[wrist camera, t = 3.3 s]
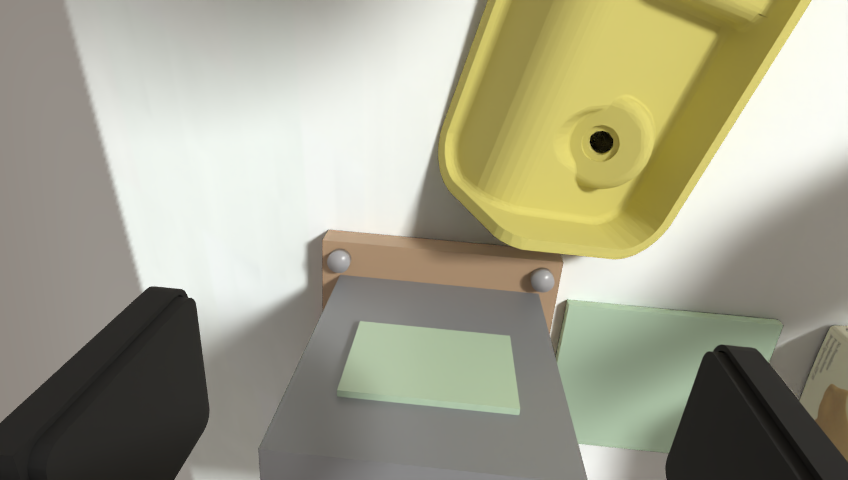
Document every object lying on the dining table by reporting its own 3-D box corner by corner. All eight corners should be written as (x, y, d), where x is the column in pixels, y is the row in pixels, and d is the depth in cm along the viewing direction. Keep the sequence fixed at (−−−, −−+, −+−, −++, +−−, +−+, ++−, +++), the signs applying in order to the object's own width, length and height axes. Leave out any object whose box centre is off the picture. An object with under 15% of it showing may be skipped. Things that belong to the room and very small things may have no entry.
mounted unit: (328, 229, 31) (224, 398, 17) (558, 251, 30) (633, 440, 17) (328, 398, 35) (246, 633, 22) (527, 419, 35) (566, 671, 22)
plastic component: (647, 262, 28) (484, 246, 23) (569, 193, 33) (426, 168, 29) (938, -202, 19) (764, -377, 14) (764, -189, 24) (600, -312, 20)
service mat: (567, 299, 31) (569, 304, 31) (778, 319, 31) (783, 325, 30) (540, 433, 35) (541, 439, 35) (726, 452, 35) (731, 459, 34)
